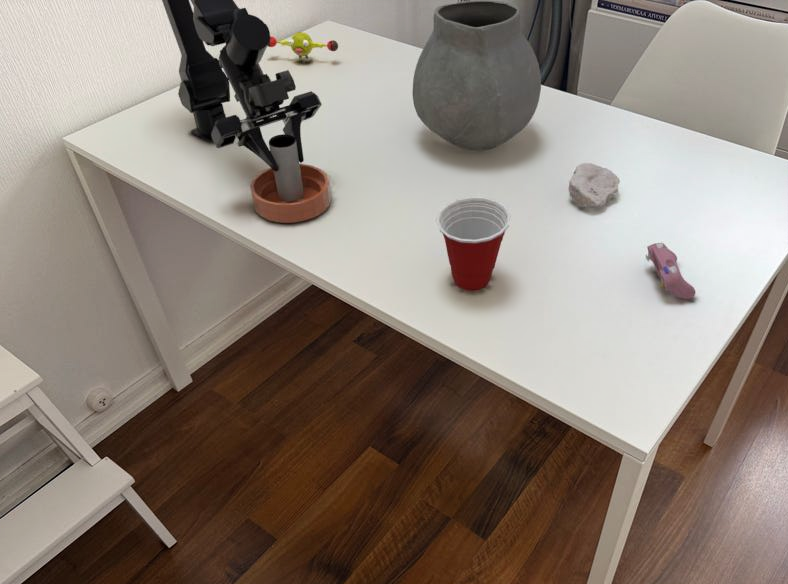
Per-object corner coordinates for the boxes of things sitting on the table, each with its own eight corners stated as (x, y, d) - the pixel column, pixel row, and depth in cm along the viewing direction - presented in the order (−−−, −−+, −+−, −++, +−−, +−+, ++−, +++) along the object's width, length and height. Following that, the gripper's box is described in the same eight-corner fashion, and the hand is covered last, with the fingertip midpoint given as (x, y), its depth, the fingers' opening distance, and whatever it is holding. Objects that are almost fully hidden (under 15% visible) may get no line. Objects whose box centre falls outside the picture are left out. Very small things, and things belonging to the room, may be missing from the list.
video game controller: (649, 270, 110) (638, 240, 105) (676, 259, 108) (667, 227, 104) (668, 310, 103) (658, 280, 98) (698, 299, 102) (689, 267, 97)
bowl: (238, 207, 120) (234, 187, 117) (292, 175, 127) (289, 155, 124) (293, 234, 114) (289, 214, 111) (346, 198, 122) (344, 179, 119)
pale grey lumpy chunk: (627, 175, 122) (616, 180, 113) (613, 209, 125) (601, 216, 116) (582, 159, 124) (568, 162, 116) (570, 193, 127) (555, 199, 119)
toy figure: (264, 64, 163) (259, 35, 158) (272, 55, 167) (267, 26, 162) (336, 69, 161) (333, 39, 156) (342, 59, 165) (339, 31, 160)
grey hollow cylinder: (298, 202, 118) (290, 148, 110) (274, 199, 118) (264, 145, 111) (307, 188, 121) (299, 135, 113) (283, 185, 121) (274, 132, 114)
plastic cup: (425, 268, 107) (424, 204, 99) (485, 252, 110) (489, 189, 102) (453, 310, 101) (455, 245, 92) (516, 291, 104) (524, 227, 95)
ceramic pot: (496, 103, 148) (506, -22, 130) (556, 153, 133) (576, 20, 115) (395, 125, 141) (390, -3, 123) (446, 181, 126) (449, 43, 108)
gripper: (201, 71, 101) (249, 167, 103) (309, 42, 109) (351, 132, 111) (192, 102, 111) (236, 189, 113) (291, 73, 119) (330, 155, 121)
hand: (289, 166), depth 114 cm, fingers closed on grey hollow cylinder, 4 cm apart
